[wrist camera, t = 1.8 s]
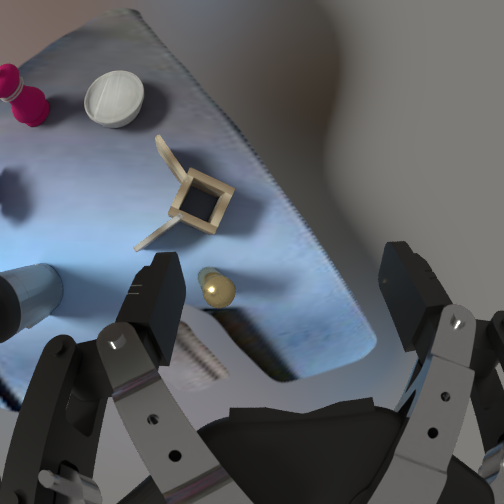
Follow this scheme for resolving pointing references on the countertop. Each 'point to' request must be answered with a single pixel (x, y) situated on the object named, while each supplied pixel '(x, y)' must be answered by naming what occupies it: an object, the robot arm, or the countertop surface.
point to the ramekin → (114, 99)
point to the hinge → (186, 181)
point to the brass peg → (216, 287)
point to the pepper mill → (22, 97)
